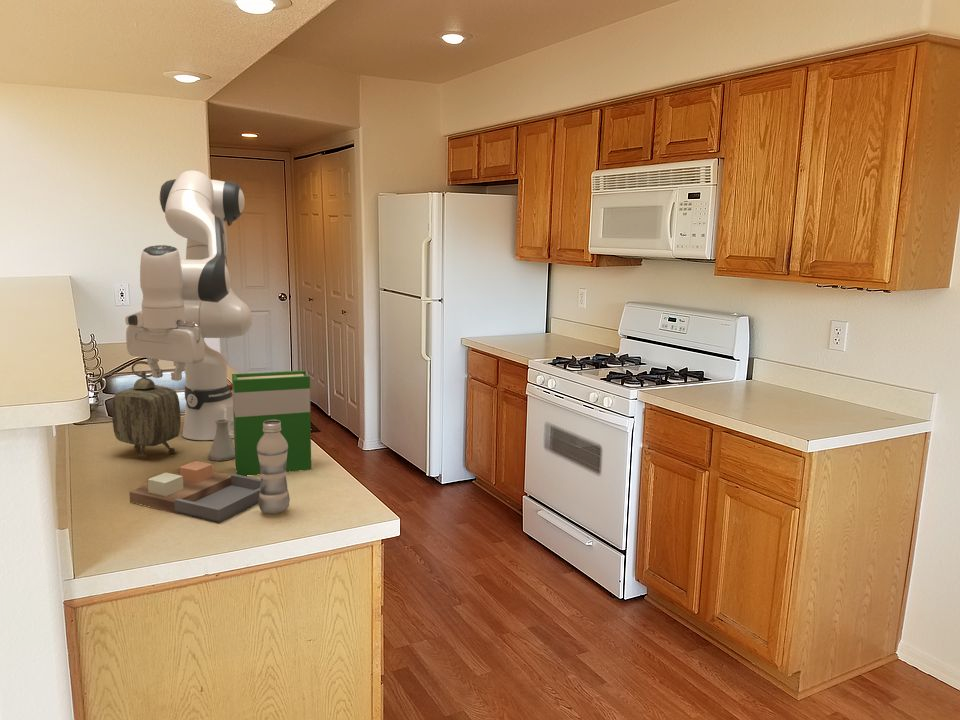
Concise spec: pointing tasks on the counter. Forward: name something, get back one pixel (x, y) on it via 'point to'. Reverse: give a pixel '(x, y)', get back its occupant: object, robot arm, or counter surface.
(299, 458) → the hardback book
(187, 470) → the orange square block
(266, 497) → the plastic bottle
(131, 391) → the tabletop clock
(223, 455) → the flask
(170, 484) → the cream block
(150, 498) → the walnut board
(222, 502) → the tray
